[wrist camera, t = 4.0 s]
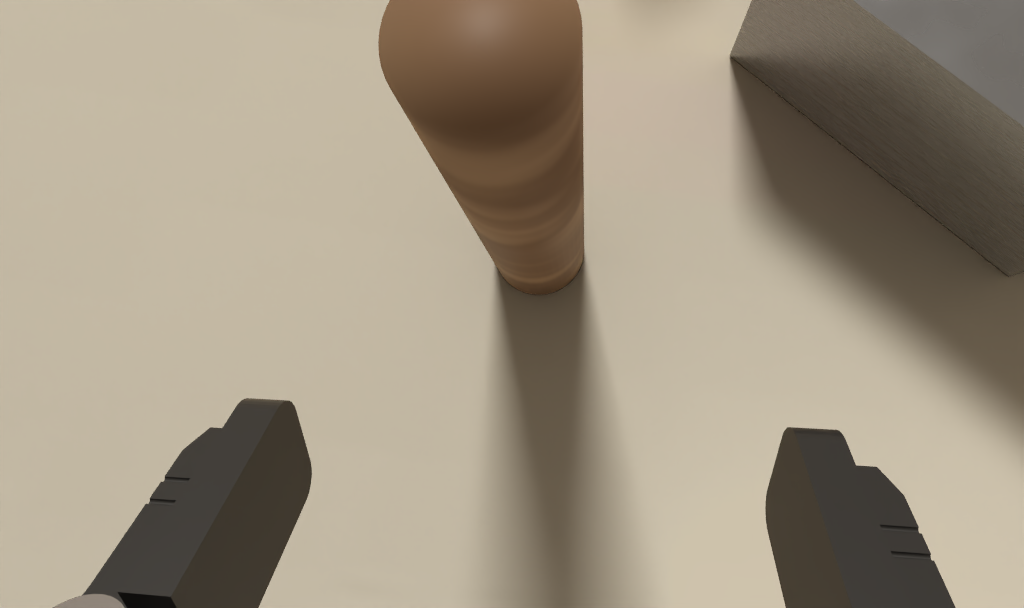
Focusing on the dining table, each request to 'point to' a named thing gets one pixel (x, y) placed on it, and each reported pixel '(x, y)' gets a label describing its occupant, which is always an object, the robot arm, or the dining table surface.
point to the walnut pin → (500, 122)
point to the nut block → (911, 99)
